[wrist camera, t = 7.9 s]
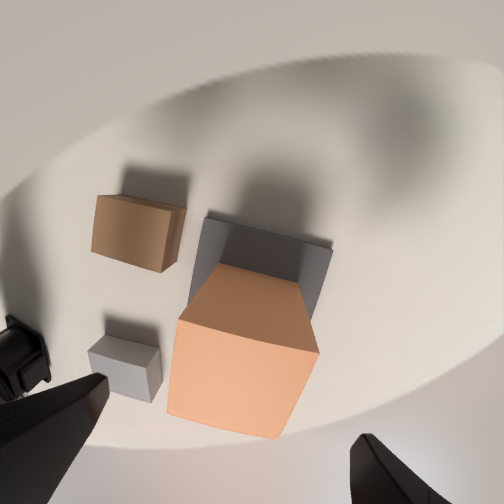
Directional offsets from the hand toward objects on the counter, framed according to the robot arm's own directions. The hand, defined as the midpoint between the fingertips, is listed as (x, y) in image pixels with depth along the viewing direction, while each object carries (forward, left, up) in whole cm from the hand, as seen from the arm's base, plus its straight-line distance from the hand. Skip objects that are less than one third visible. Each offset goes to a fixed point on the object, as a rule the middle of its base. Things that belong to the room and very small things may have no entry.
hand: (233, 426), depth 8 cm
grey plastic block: (-8, -8, -11) cm, 15 cm away
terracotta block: (0, 0, -10) cm, 10 cm away
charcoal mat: (0, 0, -11) cm, 11 cm away
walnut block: (-8, +3, -11) cm, 14 cm away
